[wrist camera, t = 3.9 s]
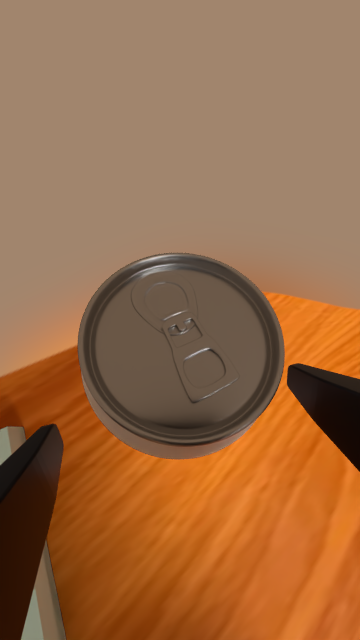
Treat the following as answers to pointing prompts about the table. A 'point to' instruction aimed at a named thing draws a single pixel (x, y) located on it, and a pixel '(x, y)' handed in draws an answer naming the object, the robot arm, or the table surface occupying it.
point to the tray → (44, 611)
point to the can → (179, 355)
